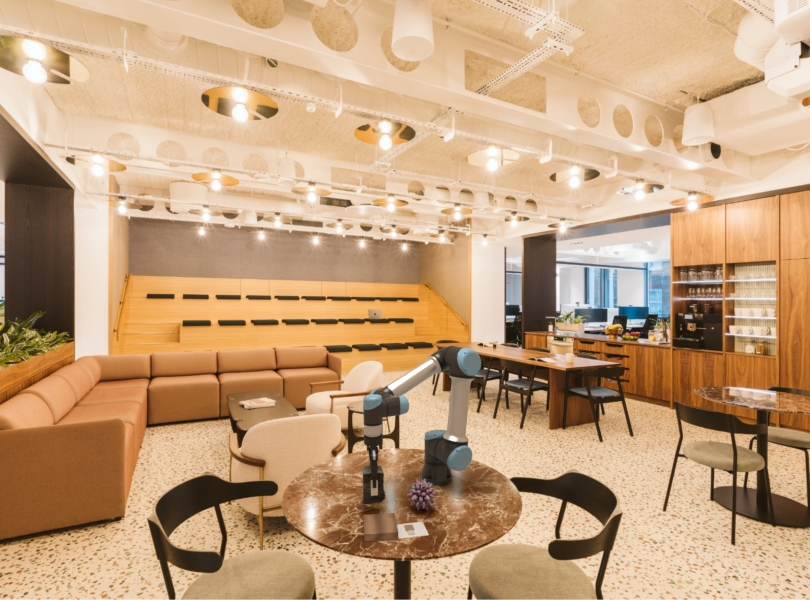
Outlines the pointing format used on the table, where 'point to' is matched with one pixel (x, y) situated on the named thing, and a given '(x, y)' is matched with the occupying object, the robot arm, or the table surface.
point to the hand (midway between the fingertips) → (373, 490)
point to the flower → (421, 494)
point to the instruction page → (411, 530)
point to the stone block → (367, 485)
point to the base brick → (380, 527)
